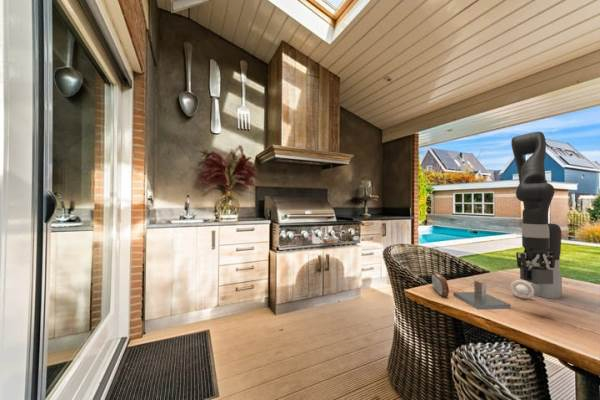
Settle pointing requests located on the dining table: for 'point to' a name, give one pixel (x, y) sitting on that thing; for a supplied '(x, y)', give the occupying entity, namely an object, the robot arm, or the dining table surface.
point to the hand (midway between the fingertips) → (536, 279)
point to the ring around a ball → (522, 289)
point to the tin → (440, 284)
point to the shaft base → (481, 303)
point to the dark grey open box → (539, 275)
